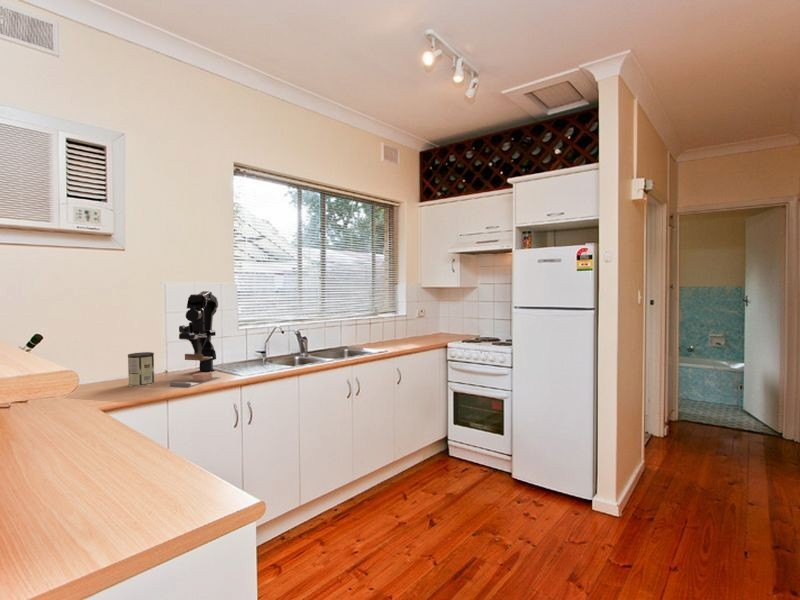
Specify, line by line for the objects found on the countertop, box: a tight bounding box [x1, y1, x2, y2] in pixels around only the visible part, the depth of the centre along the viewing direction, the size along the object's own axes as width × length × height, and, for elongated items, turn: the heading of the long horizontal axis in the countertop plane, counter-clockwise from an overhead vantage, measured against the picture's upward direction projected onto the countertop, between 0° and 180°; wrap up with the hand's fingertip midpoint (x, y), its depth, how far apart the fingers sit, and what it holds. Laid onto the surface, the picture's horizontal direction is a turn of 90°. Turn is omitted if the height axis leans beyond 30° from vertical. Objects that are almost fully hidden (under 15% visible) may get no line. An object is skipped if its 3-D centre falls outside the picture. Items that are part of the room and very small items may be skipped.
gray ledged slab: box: [169, 376, 220, 388], centre depth 207 cm, size 22×10×2 cm, turn 165°
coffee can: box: [127, 351, 155, 388], centre depth 203 cm, size 10×10×14 cm
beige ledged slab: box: [184, 343, 211, 362], centre depth 219 cm, size 6×10×8 cm, turn 73°
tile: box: [191, 372, 213, 382], centre depth 211 cm, size 6×6×3 cm
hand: (198, 352), depth 219 cm, fingers closed on beige ledged slab, 2 cm apart
